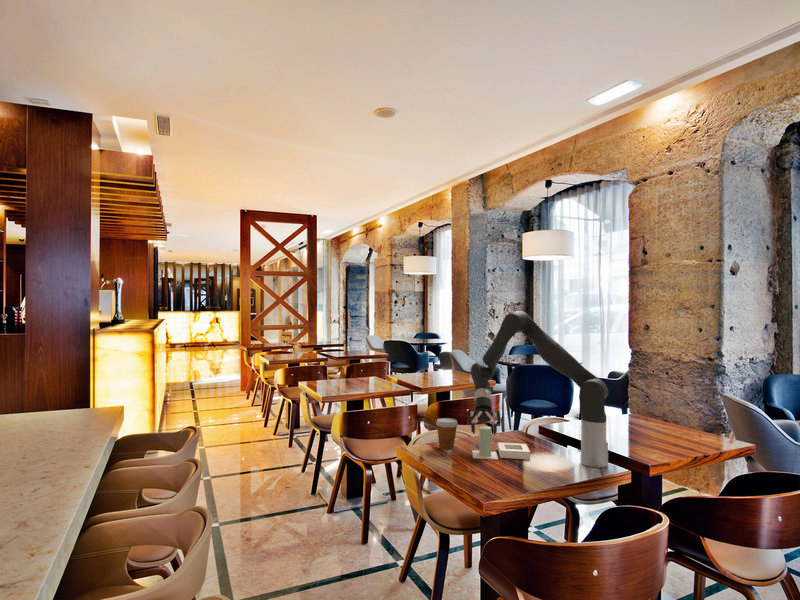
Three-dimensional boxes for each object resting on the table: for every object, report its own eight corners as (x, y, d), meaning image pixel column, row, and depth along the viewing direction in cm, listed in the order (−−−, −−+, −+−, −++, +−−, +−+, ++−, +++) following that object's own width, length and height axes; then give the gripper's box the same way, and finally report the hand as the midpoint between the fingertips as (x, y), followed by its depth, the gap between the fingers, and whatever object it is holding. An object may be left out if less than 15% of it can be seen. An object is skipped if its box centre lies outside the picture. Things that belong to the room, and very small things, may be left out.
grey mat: (496, 452, 196) (496, 451, 196) (498, 459, 186) (498, 458, 186) (472, 451, 198) (472, 450, 198) (473, 458, 188) (473, 457, 188)
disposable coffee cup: (447, 452, 195) (447, 423, 196) (431, 447, 202) (431, 419, 203) (462, 448, 202) (462, 420, 202) (445, 443, 209) (446, 416, 209)
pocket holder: (525, 450, 200) (526, 443, 200) (530, 459, 188) (530, 451, 188) (497, 449, 201) (497, 442, 201) (500, 457, 189) (500, 450, 189)
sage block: (490, 453, 194) (490, 426, 195) (491, 456, 190) (491, 429, 190) (479, 452, 195) (479, 426, 195) (479, 455, 190) (480, 428, 190)
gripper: (467, 395, 206) (467, 427, 194) (499, 396, 204) (502, 429, 193) (466, 405, 211) (466, 437, 199) (498, 406, 209) (500, 438, 198)
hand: (484, 433), depth 196 cm, fingers open, 8 cm apart
